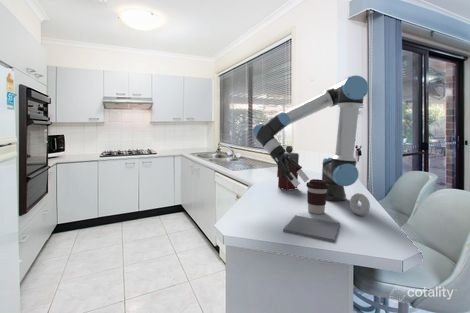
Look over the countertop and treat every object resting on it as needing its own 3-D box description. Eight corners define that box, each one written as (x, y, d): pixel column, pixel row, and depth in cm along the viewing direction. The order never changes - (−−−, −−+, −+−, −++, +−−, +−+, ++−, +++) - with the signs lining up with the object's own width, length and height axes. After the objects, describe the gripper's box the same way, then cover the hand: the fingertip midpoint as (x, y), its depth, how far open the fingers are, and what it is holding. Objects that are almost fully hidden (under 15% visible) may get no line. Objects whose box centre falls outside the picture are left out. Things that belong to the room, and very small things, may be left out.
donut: (370, 218, 112) (372, 196, 111) (365, 219, 111) (366, 196, 110) (353, 211, 121) (354, 190, 120) (347, 212, 120) (348, 191, 119)
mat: (295, 217, 111) (295, 215, 111) (339, 225, 103) (339, 223, 103) (283, 231, 95) (283, 229, 95) (334, 242, 87) (334, 239, 87)
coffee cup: (319, 216, 112) (321, 183, 111) (300, 211, 120) (302, 179, 118) (331, 212, 119) (333, 181, 117) (312, 207, 126) (314, 177, 125)
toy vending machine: (275, 187, 168) (276, 145, 165) (287, 186, 174) (289, 145, 171) (284, 190, 160) (286, 146, 157) (297, 188, 166) (299, 146, 163)
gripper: (279, 152, 140) (305, 183, 133) (258, 156, 119) (287, 192, 112) (289, 143, 136) (316, 174, 130) (269, 145, 116) (299, 182, 109)
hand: (302, 183), depth 121 cm, fingers open, 13 cm apart
